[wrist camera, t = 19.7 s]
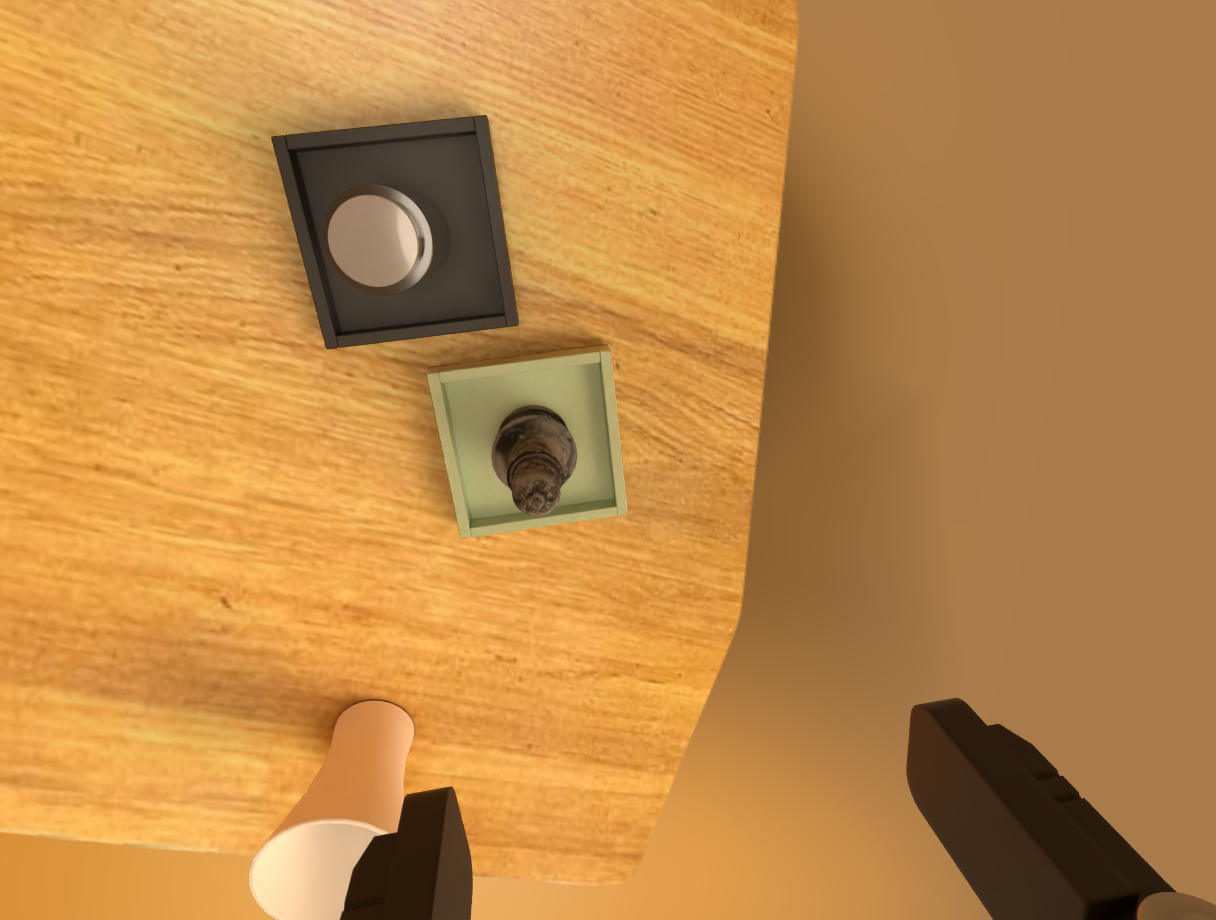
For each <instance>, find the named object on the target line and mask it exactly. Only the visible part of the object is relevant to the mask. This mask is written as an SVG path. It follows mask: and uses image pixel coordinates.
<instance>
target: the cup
mask: <svg viewBox="0 0 1216 920" xmlns="http://www.w3.org/2000/svg"><path fill="white" fill-rule="evenodd" d="M413 737H414V726H413V722H412V720H411V719H410V717H409V716H408V714H407V713H406V712H405V711H403V710H402V709H401V708H400V707H398V706H396V705H394V704H392V703H388V702H384V701H366V702H360V703H358V704H355V705H353V706H351V707H349V708H348V709H347V710H345V711H344V712H343V713H342V714H341V716H340V717H339V718H338V720H337V723H336V726H335V729H334V734H333V738H332V743H331V747H330V750H329V752H328V754H327V756H326V759H325V761H324V763H323V765H322V767H321V769H320V771H319V772H318V774H317V776H316V777H315V779H314V780H313V782H312V784H311V785H310V787H309V789H308V790H307V792H306V793H305V794H304V796H303V797H302V798H301V799H300V801H299V802H298V803H297V804H296V806H295V807H294V808H293V809H292V811H291V812H290V813H289V814H288V816H287V817H286V818H285V819H284V821H283V822H282V823H281V824H280V825H279V826H278V828H277V829H276V830H275V831H274V832H273V834H272V835H271V836H270V837H269V838H268V839H267V841H266V842H265V843H264V844H263V846H262V847H261V848H260V849H259V850H258V852H257V853H256V854H255V855H254V858H253V861H252V864H251V867H250V869H249V882H250V883H249V884H250V888H251V891H252V893H253V895H254V898H255V900H256V902H257V903H258V904H259V905H260V906H261V907H262V908H263V910H264V911H265V912H266V913H267V914H269V915H270V916H272V917H273V918H275V919H276V920H340V917H341V913H342V911H344V902H345V898H346V894H347V890H348V886H349V883H350V879H351V875H352V871H353V868H354V867H355V865H356V864H357V862H358V860H359V859H360V857H361V856H362V854H363V853H364V851H365V850H366V848H367V847H368V845H369V843H370V842H371V840H372V839H373V837H374V836H379V835H384V834H390V833H395V832H397V830H398V825H399V820H400V815H401V810H402V805H403V778H404V770H405V763H406V758H407V755H408V752H409V749H410V746H411V743H412V740H413Z"/></svg>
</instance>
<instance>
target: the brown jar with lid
mask: <svg viewBox="0 0 1216 920" xmlns="http://www.w3.org/2000/svg"><path fill="white" fill-rule="evenodd" d="M322 241H323V247H324V250H325V253H326V256H327V258H328V260H329V262H330V264H331V266H332V267H333V269H334V270H335V271H336V273H337V274H338V275H339V276H340V277H341V278H342V279H343V280H344V281H345V282H346V283H348V284H349V285H350V286H352V287H354V288H355V289H357V290H359V291H361V292H364V293H367V294H370V295H375V296H393V295H398V294H401V293H404V292H406V291H408V290H410V289H412V288H413V287H415V286H416V285H418V284H419V283H421V282H423V281H424V280H426V279H427V278H429V277H431V276H432V275H434V274H435V273H436V272H437V271H438V270H440V268H441V267H442V266H443V265H444V263H445V261H446V260H447V257H448V255H449V251H450V246H451V235H450V229H449V226H448V223H447V220H446V218H445V216H444V215H443V213H442V212H441V210H440V209H439V208H438V207H437V205H436V204H434V203H433V202H432V201H431V200H430V199H428V198H427V197H425V196H423V195H421V194H419V193H416V192H413V191H409V190H405V189H401V188H397V187H393V186H389V185H385V184H381V183H363V184H358V185H355V186H352V187H350V188H348V189H346V190H344V191H343V192H341V193H340V194H339V195H338V196H337V197H336V198H335V199H334V200H333V201H332V203H331V204H330V206H329V207H328V209H327V211H326V214H325V216H324V220H323V225H322Z"/></svg>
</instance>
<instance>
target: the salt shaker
mask: <svg viewBox="0 0 1216 920" xmlns="http://www.w3.org/2000/svg"><path fill="white" fill-rule="evenodd" d="M491 460H492V465H493V469H494V471H495V473H496V475H497V477H498V478H499V479H500V480H501V481H502V482H503V484H504V485H506V486H507V487H509V488H510V490H511V491H512V498H513V501H514V503H515V505H516V507H517V508H518V509H519V510H520V511H521V512H523V513H524V514H526V515H529V516H543V515H546V514H548V513H550V512H551V511H553V510H554V509H555V507H556V506H557V504H558V502H559V500H560V495H561V491H560V489H561V487H562V485H564V484H565V483H566V482H567V480H568V479H569V478H570V477H571V476H572V473H573V471H574V469H575V467H576V462H577V448H576V443H575V441H574V439H573V436H572V434H571V433H570V432H569V431H568V428H567V426H566V424H565V422H564V420H563V419H562V418H561V417H560V415H558V414H557V413H556V412H554V411H553V410H551V409H549V408H546V407H544V406H537V405H530V406H523V407H521V408H518V409H516V410H514V411H513V412H512V413H510V414H509V415H508V416H507V417H506V418H505V419H504V421H503V422H502V423H501V426H500V428H499V431H498V434H497V435H496V438H495V440H494V443H493V445H492V452H491Z"/></svg>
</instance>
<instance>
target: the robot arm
mask: <svg viewBox="0 0 1216 920" xmlns="http://www.w3.org/2000/svg"><path fill="white" fill-rule="evenodd" d="M907 780H908V784H909V788H910V791H911V794H912V796H913V799H914V801H915V803H916V805H917V807H918V808H919V810H920V812H921V813H922V815H923V816H924V818H925V819H926V821H927V822H928V824H929V825H930V827H931V828H932V829H933V831H934V832H935V834H936V835H937V837H938V838H939V840H940V841H941V843H942V844H943V846H944V847H945V849H946V850H947V852H948V853H949V855H950V856H951V858H952V859H953V861H954V862H955V864H956V865H957V867H958V868H959V870H960V871H961V873H962V874H963V875H964V877H965V878H966V880H967V881H968V883H969V884H970V886H971V887H972V889H973V890H974V892H975V893H976V895H977V896H978V898H979V899H980V901H981V902H982V904H983V905H984V907H985V908H986V910H987V911H988V913H989V914H990V916H991V917H992V919H993V920H1216V905H1214V904H1212V903H1210V902H1207V901H1205V900H1202V899H1199V898H1197V897H1194V896H1190V895H1186V894H1182V893H1177V892H1176V891H1175V890H1174V889H1173V888H1172V887H1171V886H1170V885H1169V884H1167V883H1166V882H1165V881H1164V880H1163V879H1162V878H1161V876H1159V874H1158V873H1157V872H1156V871H1155V870H1154V869H1153V868H1152V867H1151V866H1150V865H1149V864H1148V863H1147V862H1146V861H1145V860H1144V859H1143V858H1142V857H1141V856H1140V855H1139V854H1138V853H1137V852H1136V851H1135V850H1134V849H1133V848H1132V847H1131V846H1130V845H1129V844H1128V843H1127V842H1126V841H1125V839H1124V838H1123V837H1122V836H1121V835H1120V834H1119V833H1118V832H1117V831H1116V830H1115V829H1114V828H1113V827H1112V826H1111V825H1110V824H1109V823H1108V822H1107V821H1106V820H1105V819H1104V818H1103V817H1102V816H1101V815H1100V814H1099V813H1098V812H1097V811H1096V810H1095V809H1094V808H1093V807H1092V806H1091V805H1090V803H1089V802H1088V801H1087V800H1086V799H1085V798H1083V799H1082V798H1081V797H1080V796H1079V792H1078V791H1077V790H1076V789H1075V788H1074V787H1073V786H1072V785H1071V784H1070V783H1069V782H1068V781H1067V780H1066V779H1065V778H1064V777H1063V776H1059V774H1058V771H1057V770H1056V768H1055V767H1054V766H1053V765H1052V764H1051V763H1050V762H1049V761H1048V760H1047V759H1046V758H1045V757H1044V756H1043V755H1042V754H1041V753H1040V752H1039V751H1038V750H1037V749H1036V748H1035V747H1034V746H1033V745H1032V744H1031V743H1029V742H1028V741H1026V740H1024V739H1023V738H1021V737H1019V736H1018V735H1016V734H1014V733H1013V732H1011V731H1010V730H1008V729H1006V728H1005V727H1003V726H1002V725H1000V724H995V725H990V726H987V725H986V724H985V723H984V722H983V721H982V720H981V718H980V717H979V716H978V715H977V714H976V713H975V712H974V711H973V710H972V709H971V708H970V706H969V705H968V704H967V703H966V702H964V701H963V700H961V699H959V698H953V699H947V700H941V701H935V702H930V703H924V704H919V705H915V706H914V707H913V708H912V711H911V717H910V730H909V744H908V755H907ZM472 883H473V878H472V863H471V855H470V850H469V845H468V841H467V837H466V833H465V829H464V825H463V821H462V817H461V813H460V810H459V806H458V802H457V798H456V794H455V791H454V789H453V787H452V786H451V787H445V788H440V789H434V790H429V791H423V792H418V793H412V794H407V795H406V797H405V799H404V801H403V805H402V810H401V815H400V820H399V825H398V830H397V832H395V833H390V834H384V835H379V836H374V837H373V839H372V840H371V842H370V843H369V845H368V847H367V848H366V850H365V851H364V853H363V854H362V856H361V857H360V859H359V860H358V862H357V864H356V865H355V867H354V868H353V871H352V875H351V879H350V883H349V886H348V890H347V894H346V898H345V902H344V911H342V913H341V917H340V920H470V919H471V904H472V890H473V887H472V886H473V884H472Z"/></svg>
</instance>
